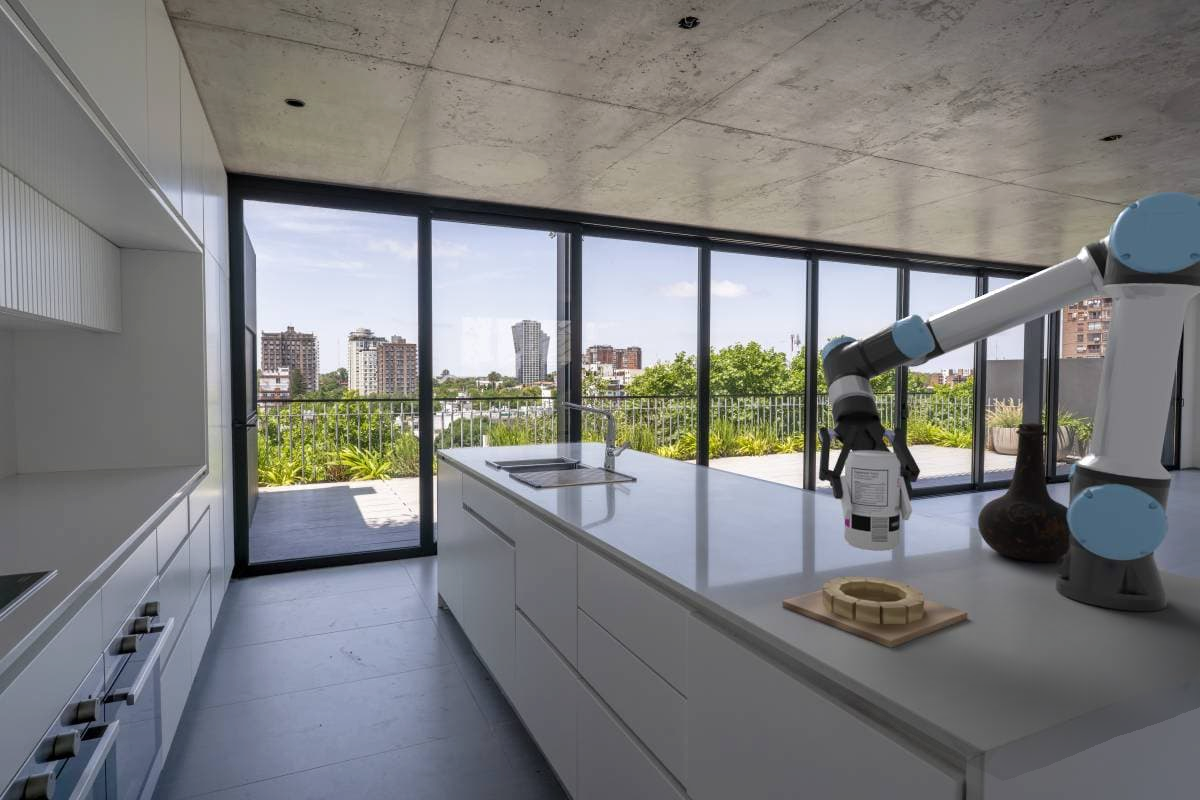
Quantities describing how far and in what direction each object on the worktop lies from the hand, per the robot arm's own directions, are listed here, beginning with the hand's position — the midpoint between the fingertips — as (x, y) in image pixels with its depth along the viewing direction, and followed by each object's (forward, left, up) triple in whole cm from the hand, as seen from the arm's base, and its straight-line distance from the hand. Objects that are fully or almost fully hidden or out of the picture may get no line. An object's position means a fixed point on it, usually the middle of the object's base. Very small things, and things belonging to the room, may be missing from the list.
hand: (877, 514), depth 104 cm
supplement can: (+3, -2, -6) cm, 7 cm away
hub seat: (+2, -2, -17) cm, 17 cm away
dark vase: (+4, -57, -17) cm, 60 cm away
